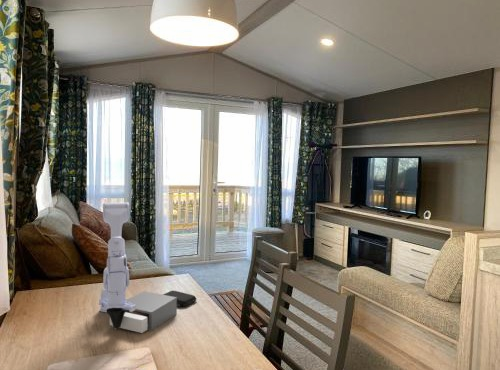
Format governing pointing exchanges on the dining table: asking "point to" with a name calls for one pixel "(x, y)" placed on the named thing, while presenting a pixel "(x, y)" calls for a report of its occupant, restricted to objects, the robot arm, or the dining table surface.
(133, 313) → the block
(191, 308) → the dining table surface
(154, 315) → the housing
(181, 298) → the carrying case or bag
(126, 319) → the tray
